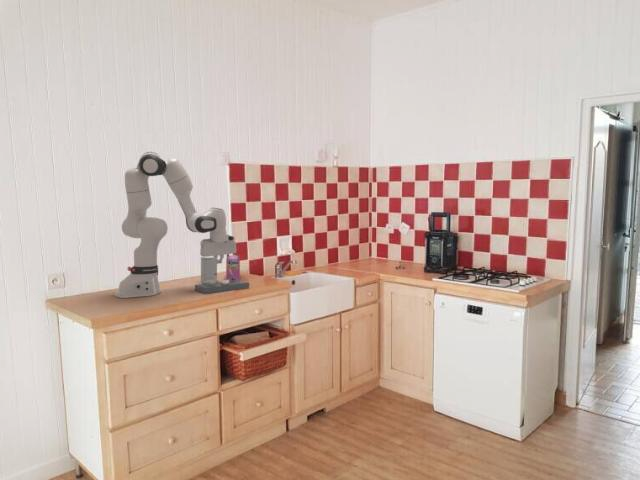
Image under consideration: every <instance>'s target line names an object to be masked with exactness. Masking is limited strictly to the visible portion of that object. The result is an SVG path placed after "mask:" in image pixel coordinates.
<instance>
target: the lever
mask: <svg viewBox="0 0 640 480" xmlns="http://www.w3.org/2000/svg"><path fill="white" fill-rule="evenodd" d="M227 268H228V269H229V272H230V274H231V280H235V278H234V277H233V275H232V272H231V269H230V268H231V265H230V264H228V265H227Z"/></svg>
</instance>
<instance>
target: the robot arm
mask: <svg viewBox="0 0 640 480" xmlns="http://www.w3.org/2000/svg"><path fill="white" fill-rule="evenodd" d="M157 176H163V177H164V179H165V181H166V183H167V184H168V187H169V189H170V190H171V191H172V193H173V194H174V197H175V198H176V199H177V202H178V204H179V206H180V208H181V210H182V212H183V214H184V217H185V224H186V227H187V229H188V230H189V231H190V232H192V233H199V234H200V233H201V234H206V233H209V238H203V239H201V241H200V252H199V253H200V257H214V259H215V260H216V264H217V265H218V264H223V259H224V257H225V255H227V254H229V255H234V254H236V253H237V243H236V241H235V240H236V238H235V236H233V235H229V234H227V229H226V226H227V216H226V212H225V210H224V209H222V208H219V207H210V209H208V210H207V211H205V212H203V213H199V212H198V211H197V210H196V207H195V206H194V203H193V201H192V198H191V193H192V190H193V188H194V187H193V183H192V180H191V177H190V176H189V173H188V172H187V170H186V169H185V167H184V166H183V164H182V162H181V161H180V160H179V159H178V158H175V157H169V158H167V159H163V158H161V156H160V155H159V154H158V153H156V152H154V151H147V152H144V153H143V154H142V155H141V156H140V158H139V160H138V163H137V166H136V167H131V168H128V169H127V170H126V171H125V173H124V187H125V192H126V193H125V194H126V198H127V206H128V210H127V211H128V212H127V216H126V217H125V219H124V220H123V221H122V224H121V231H122V233H123V234H124V236H127V237H129V238H132V239H133V238H134V239H140V243H139V246H137V247H136V248H135V249H134V250H133V266H132V267H131V266H127V268H126V269H127V271H129V272H130V274H128V275H127V276H126V277H125V278H124V279H122V280H121V281H120V282H119V286H118V291H115V292H114V293H113V296H114V297H116V298H120V299H129V298H139V297H140V298H141V297H150V296H156V295H157V294H159V293H161V292H162V290H161V288H160V284H159V283H160V282H159V278H158V276H159V265H158V247H159V245H160V242H161V240H162V239H163V238H164V237H166V235H167V233H168V230H169V229H168V223H167V222H166V221H165V220H164V219H162V218H159V217H155V216H154V217H151V216H147V212H148V211H147V210H148V209H150V207H151V206H152V204H153V203H152V198H151V196H152V195H151V191H150V186H149V179H150V177H157ZM218 257H220V258H218Z"/></svg>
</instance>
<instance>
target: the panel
mask: <svg viewBox="0 0 640 480" xmlns="http://www.w3.org/2000/svg"><path fill="white" fill-rule="evenodd" d="M249 288H250V282H249V281H244V280H241V279H240V280H230V281H229V284H227V285H222V284H221V281H217V282H216V284H212V285H210V284H207V283H201V284H200V283H199V284H194V291H196V292H198V293H200V294H201V293H202V294H204V295H208V294H215V293H222V292H223V293H224V292H229V291H236V290H243V289H244V290H245V289H249Z"/></svg>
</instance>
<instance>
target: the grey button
mask: <svg viewBox="0 0 640 480" xmlns="http://www.w3.org/2000/svg"><path fill="white" fill-rule="evenodd" d="M207 284H210V285H212V284H216V280H207Z"/></svg>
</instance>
